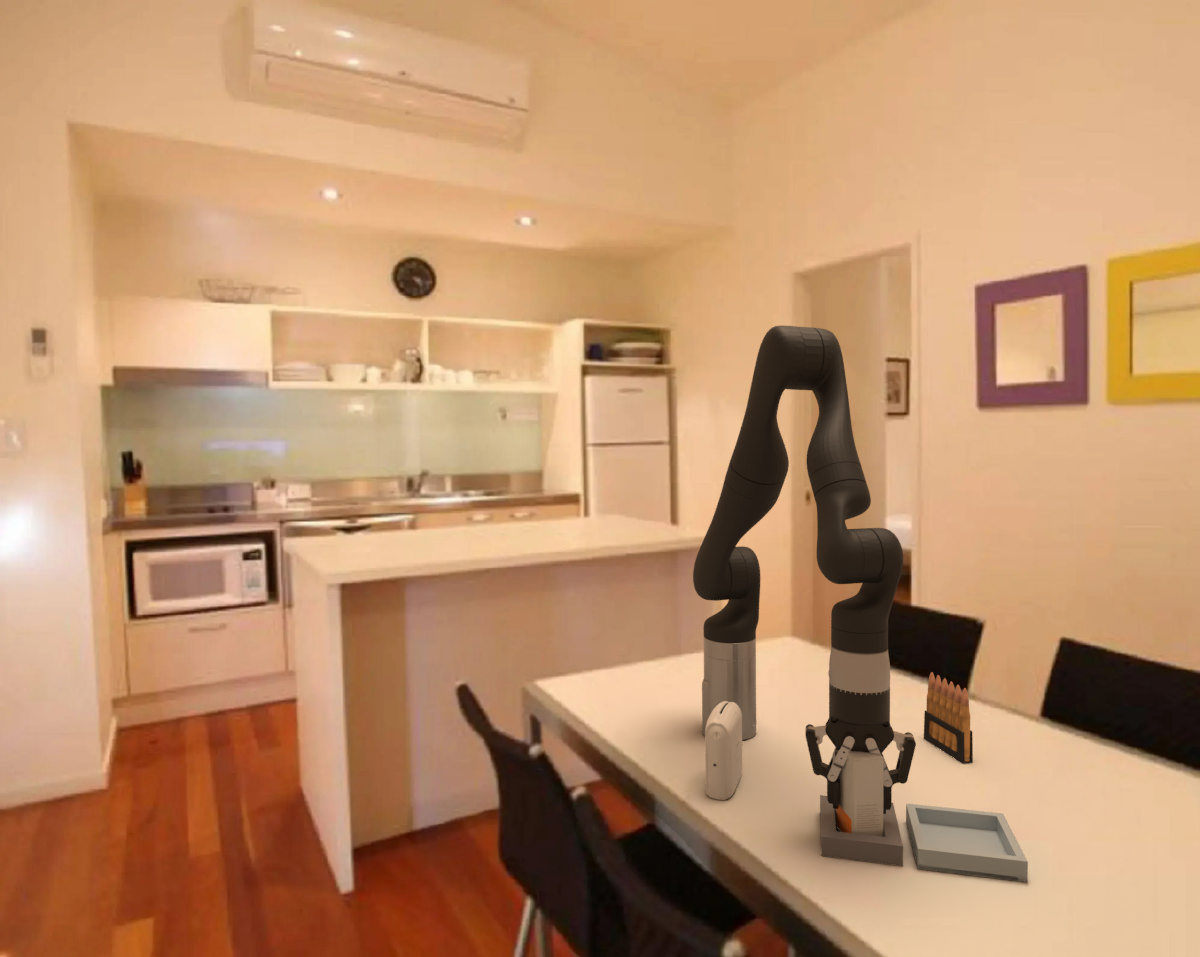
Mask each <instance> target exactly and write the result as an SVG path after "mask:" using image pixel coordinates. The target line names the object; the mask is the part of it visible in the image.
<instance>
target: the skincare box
mask: <svg viewBox="0 0 1200 957" xmlns="http://www.w3.org/2000/svg"><path fill="white" fill-rule="evenodd" d="M835 826H836V829H838V832H846V833H855V834H864V835H872V836H881V837H883V757H882V756H881V755H877V754H875V755H870V753H869V752H857V751H850V752H849V753H847V759H846V761H845V764H844V766H843V768H842V769H841V771H840V773H839V775H838V809H835Z"/></svg>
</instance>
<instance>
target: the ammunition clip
mask: <svg viewBox="0 0 1200 957" xmlns="http://www.w3.org/2000/svg"><path fill="white" fill-rule="evenodd" d="M927 681H928V683H927V685H928V686H927V694H926V710H924V713H923V714H924V715H923V716H924V717H923V718H924V720H923V740H925V741H926V742H927V743H929V742H930V743H929V744H931V745H932V746H934V747H935V748H937V749H939V750H940V749H941V751H942V752H943V751H944V752H943V753H945V754H946V755H948V756H950V757H951V756H952V757H951V758H953V757H954V758H955V759H954V758H953V759H954V760H956V761H957V762H959V763H961V764H972V763H973V762H974V760H973V759H974V756H973V755H974V754H973V752H974V751H973V742H974V741H973V730H971V712H970V699H969V693H968V690H967V688H966V687H964V688H963V690H962V689H961V687H960V685H959V684H957V685H956V687H955V685H954V683H953V681H950V683H949V684H948V681H947V679H946V677H944V678H943V679H941V676H940V675H939V674H937V675H936V678H935V675H934V672H932V671H931V672H930V674H929V677H928V680H927Z"/></svg>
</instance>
